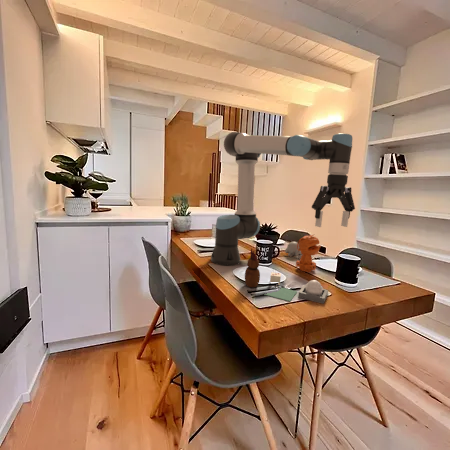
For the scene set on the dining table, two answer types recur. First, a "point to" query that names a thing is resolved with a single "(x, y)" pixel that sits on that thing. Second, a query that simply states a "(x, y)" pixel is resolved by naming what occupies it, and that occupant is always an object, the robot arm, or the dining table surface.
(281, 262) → the dining table surface
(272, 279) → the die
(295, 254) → the toy rhinoceros
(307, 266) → the toy dinosaur
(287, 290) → the mat
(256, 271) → the wooden figurine
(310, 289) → the dome
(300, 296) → the button housing
